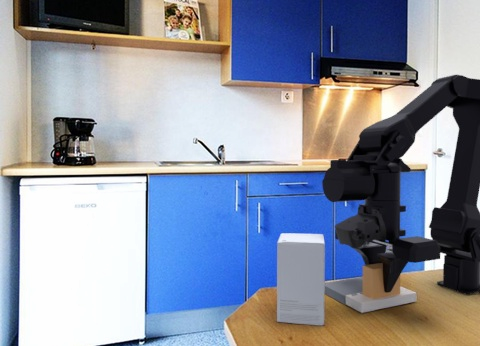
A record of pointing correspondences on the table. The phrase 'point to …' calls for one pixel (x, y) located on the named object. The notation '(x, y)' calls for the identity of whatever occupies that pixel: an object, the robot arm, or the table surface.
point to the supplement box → (301, 278)
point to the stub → (378, 292)
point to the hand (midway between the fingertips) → (381, 289)
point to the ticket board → (344, 288)
